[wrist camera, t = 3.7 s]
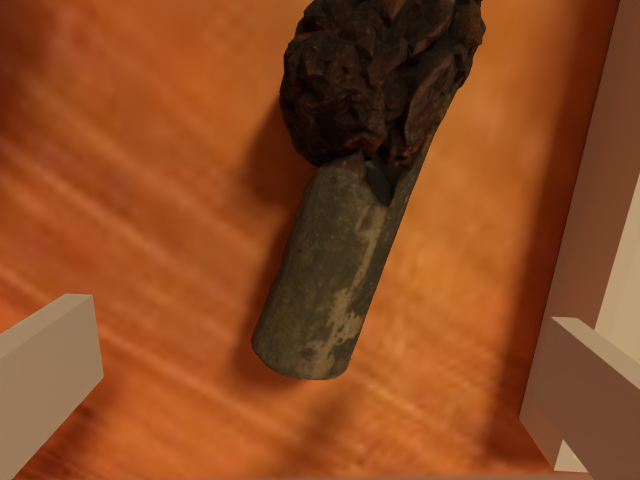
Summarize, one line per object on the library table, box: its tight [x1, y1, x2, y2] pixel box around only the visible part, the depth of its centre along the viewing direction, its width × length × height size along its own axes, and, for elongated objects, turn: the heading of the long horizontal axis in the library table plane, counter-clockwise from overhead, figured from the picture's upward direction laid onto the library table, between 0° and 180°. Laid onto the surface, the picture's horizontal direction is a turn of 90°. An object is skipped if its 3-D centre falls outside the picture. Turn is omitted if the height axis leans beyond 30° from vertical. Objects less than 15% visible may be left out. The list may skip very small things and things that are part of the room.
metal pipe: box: [251, 0, 486, 380], centre depth 15 cm, size 18×7×6 cm, turn 161°
